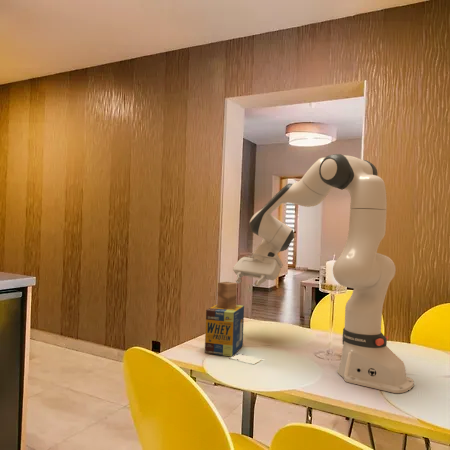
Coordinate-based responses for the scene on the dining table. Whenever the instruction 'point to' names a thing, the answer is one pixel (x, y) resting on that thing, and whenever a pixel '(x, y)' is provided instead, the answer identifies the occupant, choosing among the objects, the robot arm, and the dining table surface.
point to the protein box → (224, 330)
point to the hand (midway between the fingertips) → (246, 283)
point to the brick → (227, 295)
